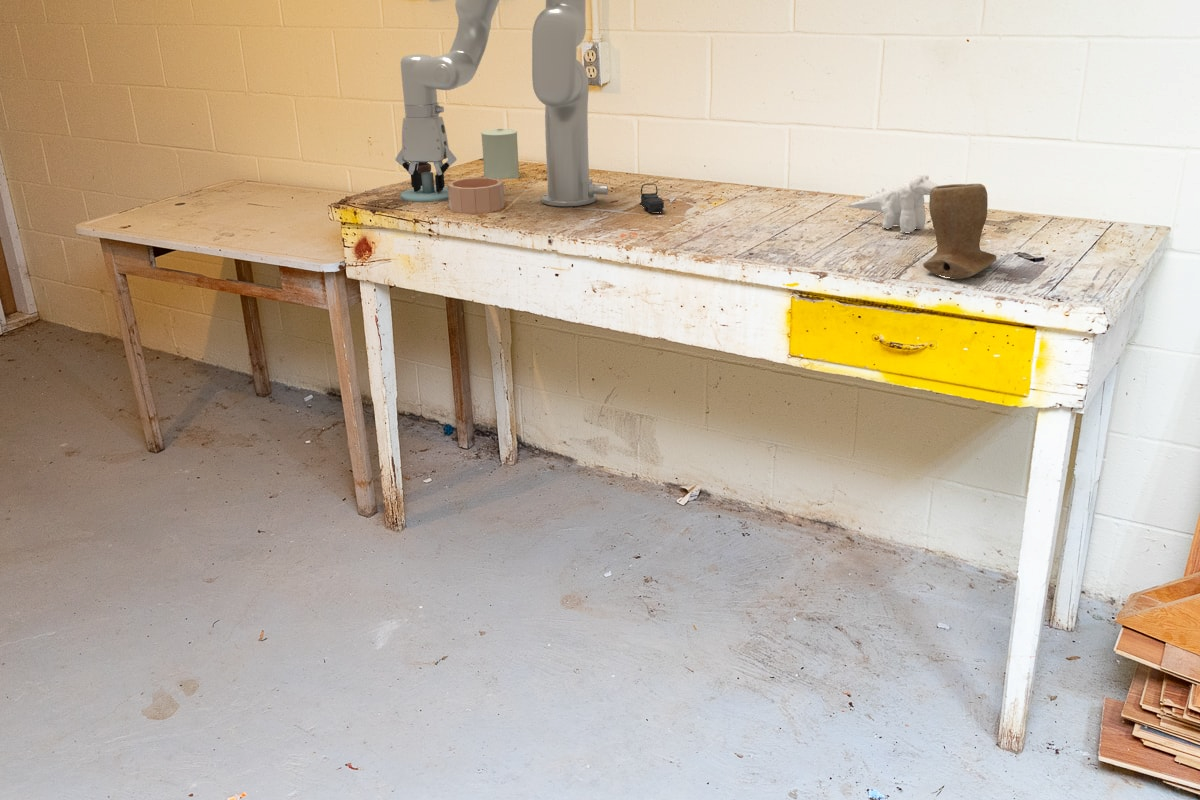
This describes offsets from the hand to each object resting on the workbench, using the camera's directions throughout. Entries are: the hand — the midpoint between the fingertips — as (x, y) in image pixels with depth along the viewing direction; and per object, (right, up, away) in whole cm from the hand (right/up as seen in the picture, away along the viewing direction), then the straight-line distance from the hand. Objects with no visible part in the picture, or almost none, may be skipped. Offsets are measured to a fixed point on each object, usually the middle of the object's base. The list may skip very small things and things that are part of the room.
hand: (428, 190), depth 247 cm
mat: (0, -2, +1) cm, 2 cm away
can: (+15, +7, +22) cm, 27 cm away
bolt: (-4, +3, +14) cm, 14 cm away
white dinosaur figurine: (+100, -15, -36) cm, 107 cm away
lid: (0, -1, +1) cm, 1 cm away
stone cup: (+102, -27, -64) cm, 124 cm away
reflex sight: (+52, -8, -16) cm, 55 cm away
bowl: (+13, -7, -12) cm, 19 cm away
